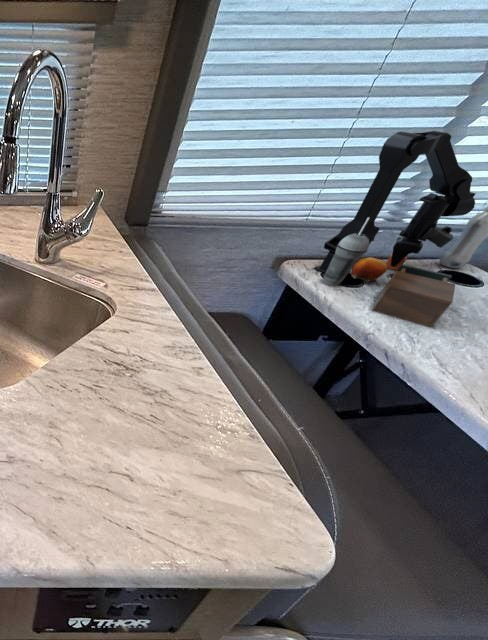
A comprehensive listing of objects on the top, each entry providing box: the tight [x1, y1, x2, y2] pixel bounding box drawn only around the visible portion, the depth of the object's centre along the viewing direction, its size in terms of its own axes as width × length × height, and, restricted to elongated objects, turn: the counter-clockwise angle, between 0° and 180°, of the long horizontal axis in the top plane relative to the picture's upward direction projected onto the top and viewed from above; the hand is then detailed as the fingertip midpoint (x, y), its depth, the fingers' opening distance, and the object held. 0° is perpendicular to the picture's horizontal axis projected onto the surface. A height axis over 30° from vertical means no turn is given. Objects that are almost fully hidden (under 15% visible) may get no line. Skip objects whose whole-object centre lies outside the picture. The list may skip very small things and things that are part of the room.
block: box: [385, 252, 409, 271], centre depth 130 cm, size 4×4×4 cm
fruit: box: [350, 256, 388, 284], centre depth 123 cm, size 8×8×8 cm
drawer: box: [396, 263, 453, 282], centre depth 114 cm, size 17×11×6 cm
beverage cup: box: [321, 218, 370, 287], centre depth 117 cm, size 7×7×20 cm
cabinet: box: [372, 270, 456, 328], centre depth 108 cm, size 14×13×8 cm
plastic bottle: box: [438, 205, 488, 269], centre depth 124 cm, size 6×7×20 cm
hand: (393, 264), depth 130 cm, fingers closed on block, 4 cm apart
